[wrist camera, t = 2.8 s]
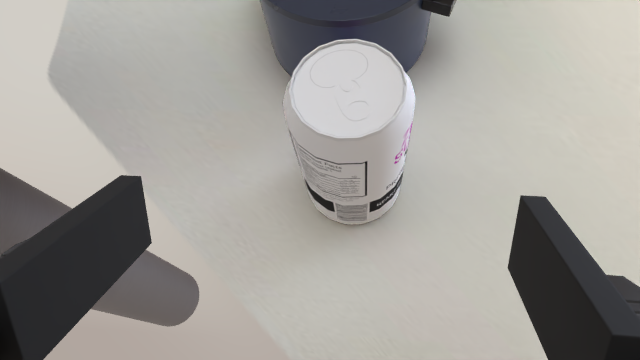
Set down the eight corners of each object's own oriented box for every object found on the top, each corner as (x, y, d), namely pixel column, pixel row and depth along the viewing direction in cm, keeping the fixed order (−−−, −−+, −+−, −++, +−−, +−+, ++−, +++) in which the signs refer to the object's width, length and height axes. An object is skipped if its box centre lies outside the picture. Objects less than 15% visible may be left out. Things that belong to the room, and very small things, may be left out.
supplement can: (295, 160, 42) (262, 57, 29) (379, 130, 43) (385, 14, 29) (325, 240, 39) (303, 168, 25) (415, 207, 40) (442, 118, 26)
